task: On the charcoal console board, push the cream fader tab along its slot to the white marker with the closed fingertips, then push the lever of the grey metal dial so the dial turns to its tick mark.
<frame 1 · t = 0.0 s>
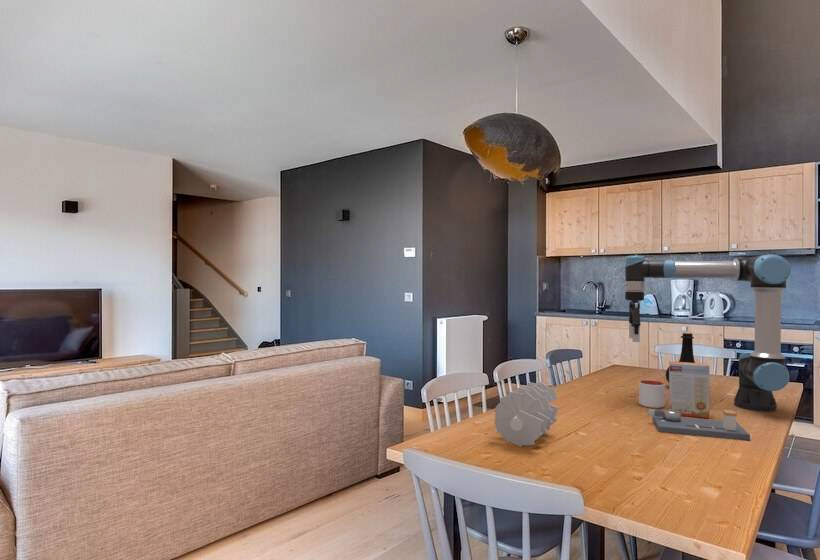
hand: (634, 340, 217), 28 cm above the table, tool pointing down, fingers open, 13 cm apart
console: (697, 429, 181), on the table
fader: (729, 420, 175), point 5 cm above the table, slide at 0.0 cm
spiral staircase: (526, 438, 170), on the table
glass bottle: (685, 389, 248), on the table
cup: (651, 406, 215), on the table
cracker box: (688, 415, 201), on the table
dial: (664, 414, 187), point 4 cm above the table, hinge at 0.0°
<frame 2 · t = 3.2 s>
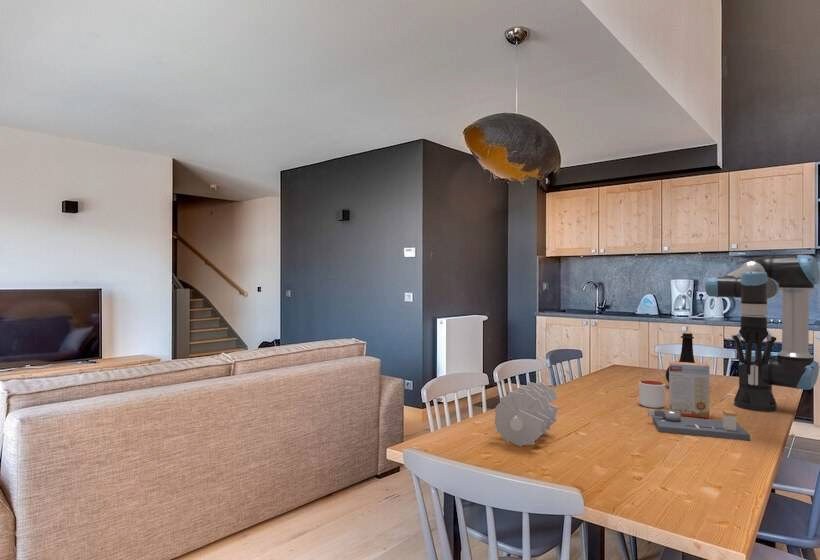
hand: (753, 384, 173), 18 cm above the table, tool pointing down, fingers closed
nothing on the table moved.
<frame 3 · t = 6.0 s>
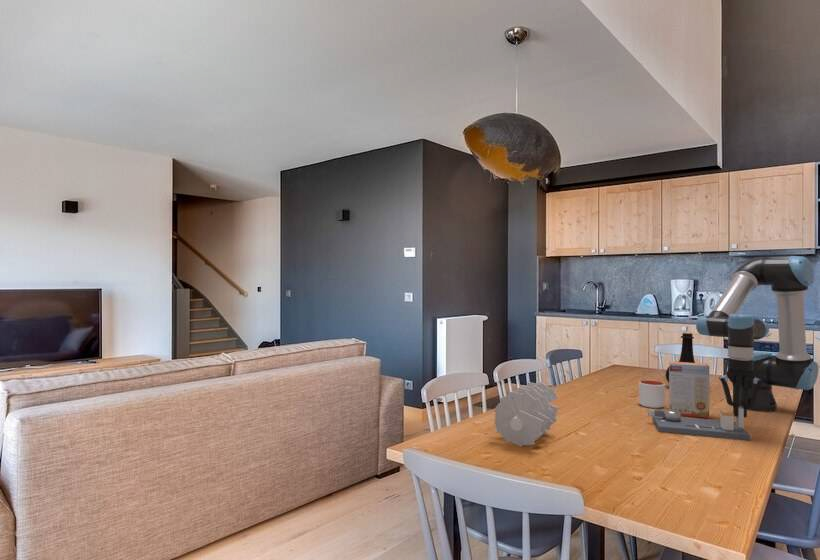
hand: (739, 426, 174), 3 cm above the table, tool pointing down, fingers closed
fader: (727, 420, 175), point 5 cm above the table, slide at 0.7 cm, touching gripper
everything else where it was.
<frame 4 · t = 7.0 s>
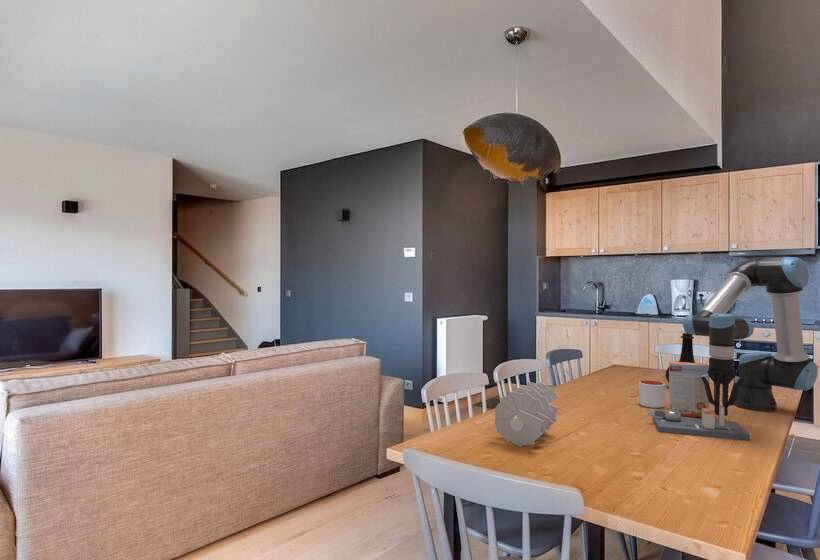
hand: (720, 424, 176), 3 cm above the table, tool pointing down, fingers closed
fader: (708, 418, 177), point 5 cm above the table, slide at 6.6 cm, touching gripper
everything else where it was.
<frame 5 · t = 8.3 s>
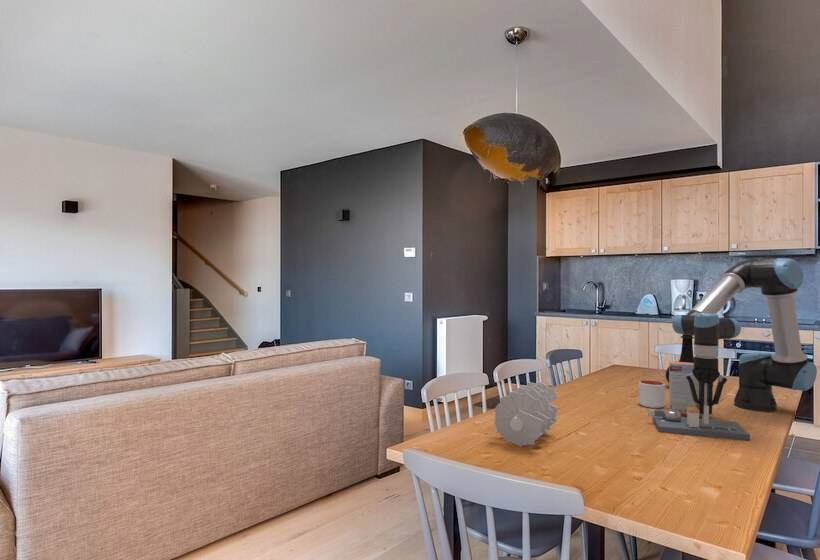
hand: (705, 423, 177), 3 cm above the table, tool pointing down, fingers closed
fader: (692, 417, 178), point 5 cm above the table, slide at 11.3 cm, touching gripper
everything else where it was.
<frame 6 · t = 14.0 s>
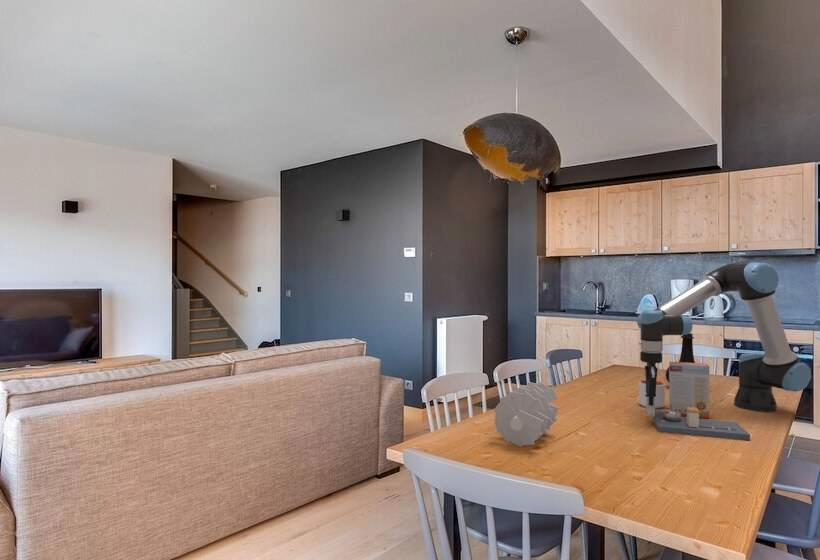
hand: (650, 413, 189), 4 cm above the table, tool pointing down, fingers closed
fader: (692, 417, 178), point 5 cm above the table, slide at 11.4 cm
dial: (664, 414, 187), point 4 cm above the table, hinge at 4.4°, touching gripper
everything else where it was.
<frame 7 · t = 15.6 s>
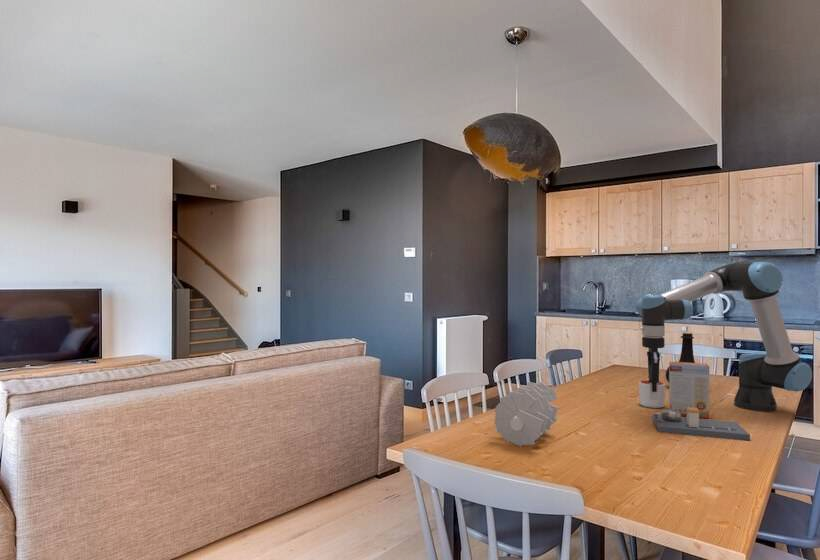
hand: (653, 399, 186), 10 cm above the table, tool pointing down, fingers closed
dial: (666, 415, 185), point 4 cm above the table, hinge at 39.7°
everything else where it was.
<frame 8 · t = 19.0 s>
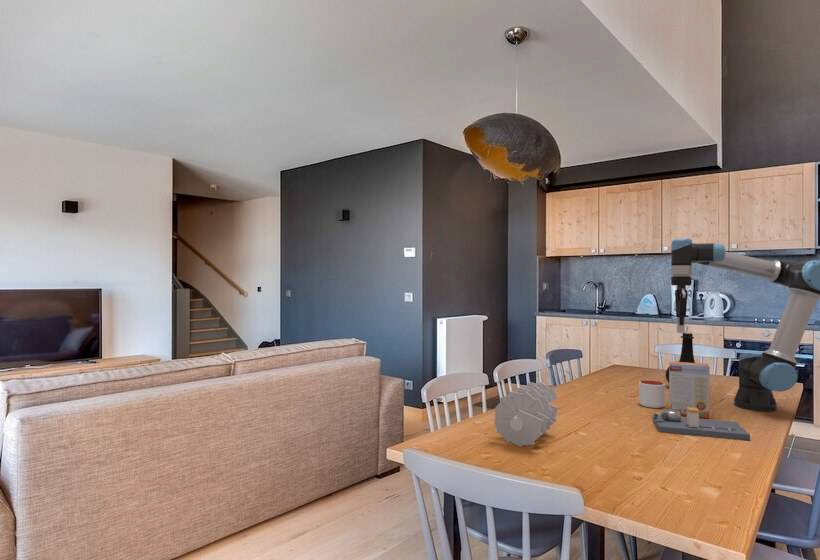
hand: (680, 332, 207), 32 cm above the table, tool pointing down, fingers closed
nothing on the table moved.
at the end: fader slide at 11.4 cm; dial at +40° (first picture: +0°); dial touching nothing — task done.
